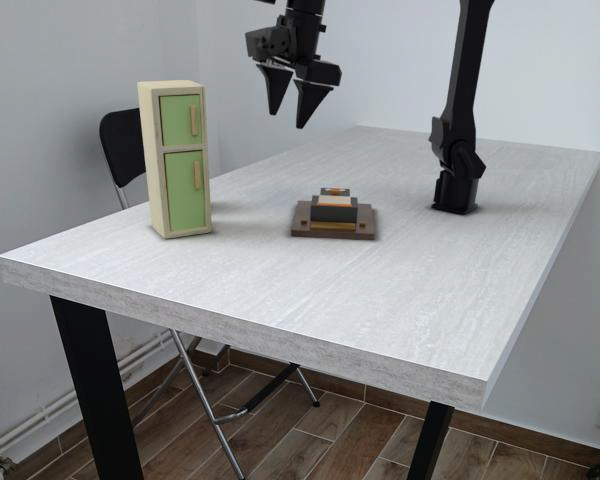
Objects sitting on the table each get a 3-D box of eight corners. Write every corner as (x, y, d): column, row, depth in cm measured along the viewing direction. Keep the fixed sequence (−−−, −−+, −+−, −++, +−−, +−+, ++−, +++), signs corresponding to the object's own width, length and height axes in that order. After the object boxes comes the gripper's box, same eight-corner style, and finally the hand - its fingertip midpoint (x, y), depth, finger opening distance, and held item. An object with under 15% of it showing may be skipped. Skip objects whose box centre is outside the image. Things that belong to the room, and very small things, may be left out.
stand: (373, 240, 100) (374, 229, 99) (290, 236, 101) (291, 225, 100) (370, 209, 114) (371, 200, 113) (297, 206, 114) (298, 196, 114)
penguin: (356, 223, 103) (358, 203, 101) (310, 220, 103) (310, 201, 101) (356, 203, 112) (357, 185, 110) (313, 201, 112) (313, 183, 111)
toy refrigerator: (164, 241, 97) (151, 88, 85) (150, 227, 102) (136, 81, 91) (214, 234, 100) (207, 86, 89) (197, 221, 106) (189, 79, 94)
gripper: (230, -6, 99) (217, 103, 107) (287, 9, 86) (268, 131, 94) (292, 8, 105) (275, 110, 113) (354, 24, 92) (330, 138, 100)
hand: (285, 121), depth 105 cm, fingers open, 9 cm apart
